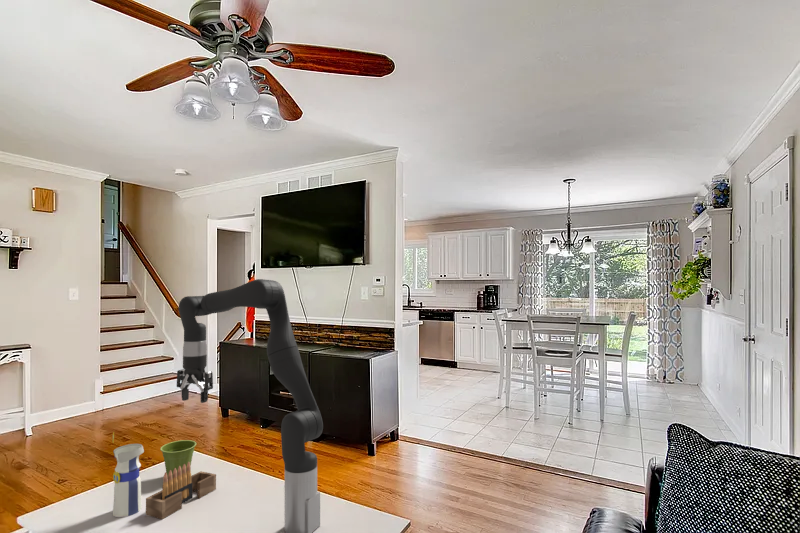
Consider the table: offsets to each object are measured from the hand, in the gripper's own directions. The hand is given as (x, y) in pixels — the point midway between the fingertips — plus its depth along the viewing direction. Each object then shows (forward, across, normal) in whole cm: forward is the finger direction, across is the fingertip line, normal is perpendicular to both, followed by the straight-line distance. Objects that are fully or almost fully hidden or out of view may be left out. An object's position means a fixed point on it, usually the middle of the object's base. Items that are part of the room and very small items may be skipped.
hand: (194, 401), depth 152 cm
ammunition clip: (+30, -3, +9) cm, 32 cm away
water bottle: (+30, +8, +18) cm, 36 cm away
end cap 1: (+30, -3, +14) cm, 33 cm away
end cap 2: (+30, -3, 0) cm, 30 cm away
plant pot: (+30, +14, -6) cm, 34 cm away
